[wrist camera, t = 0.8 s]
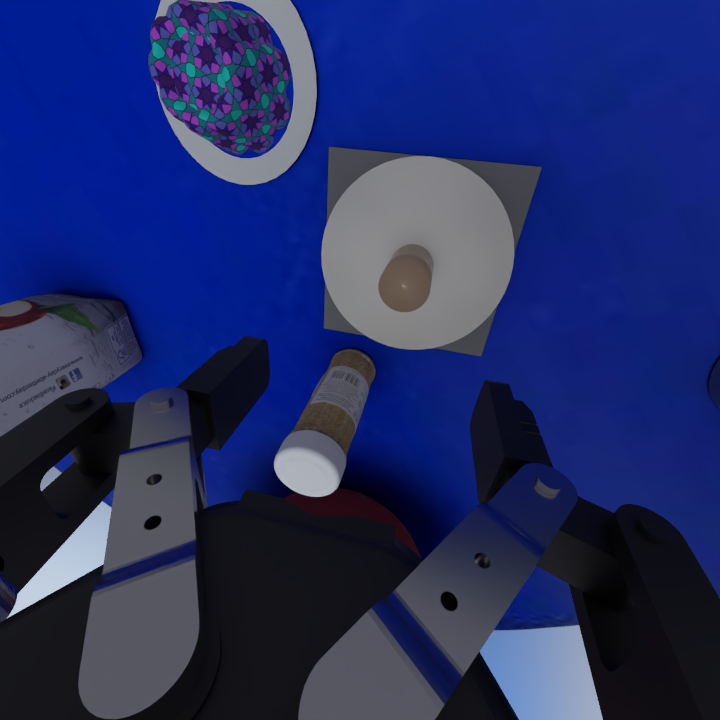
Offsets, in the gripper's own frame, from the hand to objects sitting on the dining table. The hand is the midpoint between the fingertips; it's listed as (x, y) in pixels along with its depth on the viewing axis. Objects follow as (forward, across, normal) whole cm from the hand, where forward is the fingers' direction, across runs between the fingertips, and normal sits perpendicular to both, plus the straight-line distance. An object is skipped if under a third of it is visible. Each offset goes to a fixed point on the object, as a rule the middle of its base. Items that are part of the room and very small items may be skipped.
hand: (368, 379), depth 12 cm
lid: (+16, -1, 0) cm, 16 cm away
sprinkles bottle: (+17, +3, +11) cm, 20 cm away
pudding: (+18, +14, -10) cm, 24 cm away
